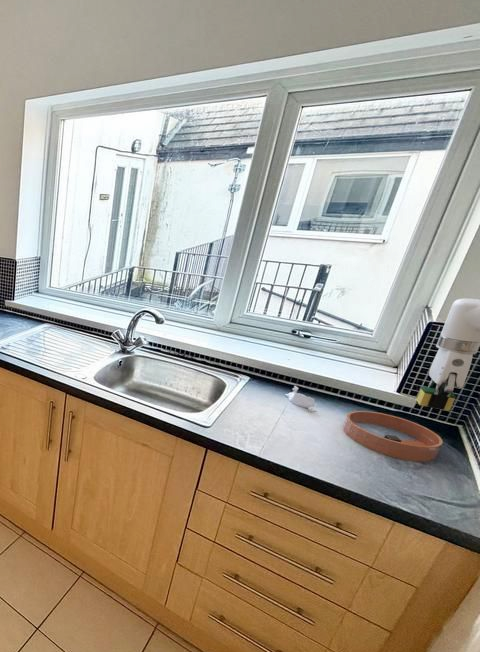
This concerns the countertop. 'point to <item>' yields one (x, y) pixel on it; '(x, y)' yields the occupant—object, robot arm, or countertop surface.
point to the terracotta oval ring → (402, 450)
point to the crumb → (392, 438)
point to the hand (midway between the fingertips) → (433, 404)
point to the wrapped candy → (301, 399)
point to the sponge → (426, 395)
